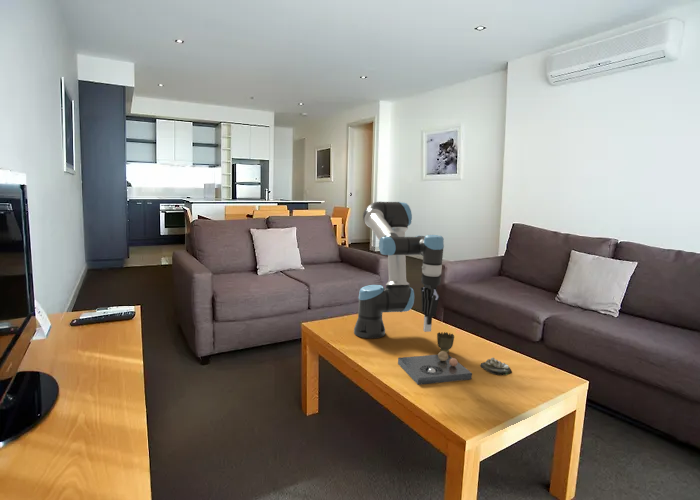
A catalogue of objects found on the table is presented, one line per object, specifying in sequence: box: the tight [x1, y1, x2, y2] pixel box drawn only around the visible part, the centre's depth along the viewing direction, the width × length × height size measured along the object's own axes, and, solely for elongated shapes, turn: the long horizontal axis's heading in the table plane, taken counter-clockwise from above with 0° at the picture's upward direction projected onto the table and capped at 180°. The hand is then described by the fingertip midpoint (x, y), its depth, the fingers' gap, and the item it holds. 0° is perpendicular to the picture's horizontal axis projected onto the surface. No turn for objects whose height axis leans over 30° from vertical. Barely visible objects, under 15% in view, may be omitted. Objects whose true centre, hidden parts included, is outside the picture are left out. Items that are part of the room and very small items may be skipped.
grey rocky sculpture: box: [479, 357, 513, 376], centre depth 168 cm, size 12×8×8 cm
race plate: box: [397, 354, 473, 386], centre depth 165 cm, size 19×22×2 cm
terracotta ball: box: [449, 357, 459, 367], centre depth 164 cm, size 3×3×3 cm
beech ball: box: [437, 351, 449, 361], centre depth 168 cm, size 4×4×4 cm
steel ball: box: [427, 368, 436, 373], centre depth 160 cm, size 3×3×3 cm
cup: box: [436, 331, 455, 354], centre depth 184 cm, size 8×7×8 cm
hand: (427, 330), depth 171 cm, fingers closed
